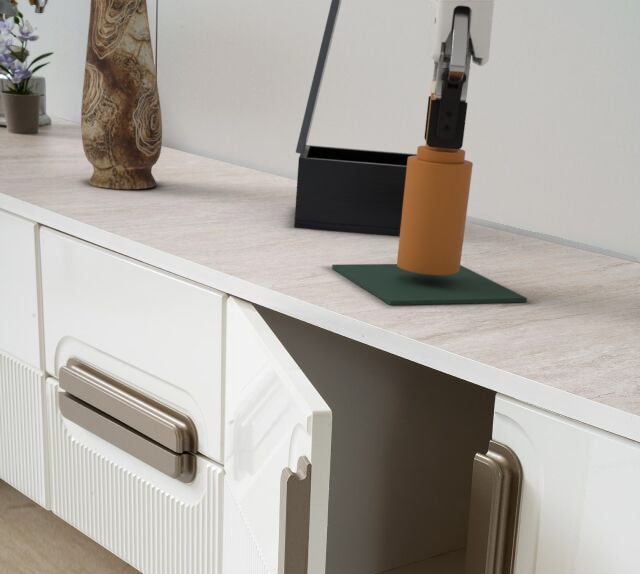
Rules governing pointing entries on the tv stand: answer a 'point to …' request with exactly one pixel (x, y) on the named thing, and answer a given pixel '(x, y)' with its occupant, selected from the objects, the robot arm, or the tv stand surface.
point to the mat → (426, 285)
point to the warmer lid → (318, 75)
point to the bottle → (434, 209)
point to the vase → (120, 96)
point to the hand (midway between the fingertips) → (442, 143)
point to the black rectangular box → (350, 190)
